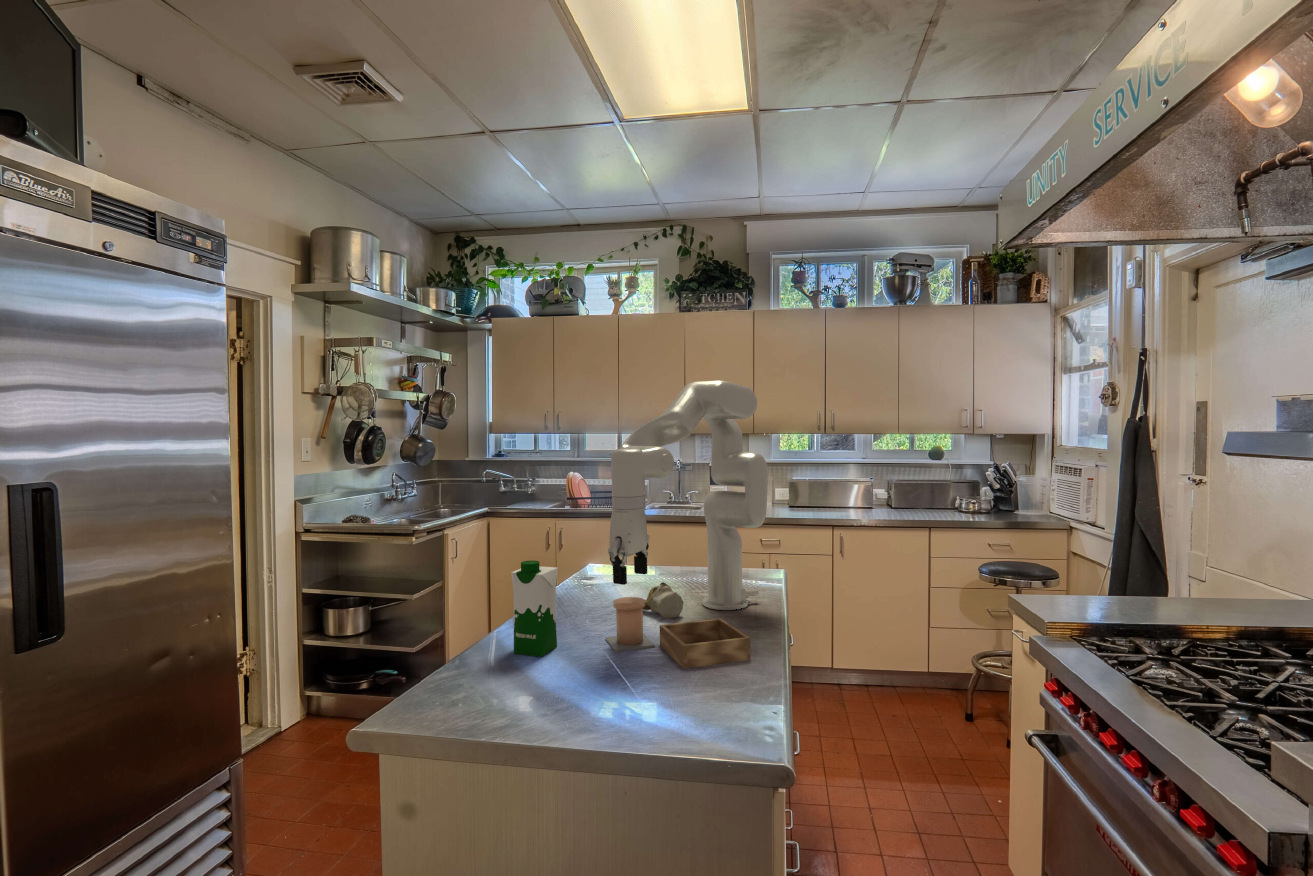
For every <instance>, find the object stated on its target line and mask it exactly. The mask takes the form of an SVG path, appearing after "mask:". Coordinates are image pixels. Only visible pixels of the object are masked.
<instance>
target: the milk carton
mask: <svg viewBox="0 0 1313 876" xmlns="http://www.w3.org/2000/svg"><path fill="white" fill-rule="evenodd" d="M558 571H559V567H555V566H554V567H553V566H541V565H540V561H539V560H524V561H521V562H520V568H518V569H517V570H516V569H515V570H514V571H511V572H510V576H511V583H512V589H513V591H512V593H513V654H514V655H515V654H516V655H521V656H522V655H523V656H531V657H539V658H540V657H541V658H542V657H543V656H545V655H547V654H549V653H550V652H551V651H553V650H554V649H556V648H557V647H558V640H557V639H558V638H557V578H558Z"/></svg>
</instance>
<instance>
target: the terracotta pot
mask: <svg viewBox="0 0 1313 876" xmlns="http://www.w3.org/2000/svg"><path fill="white" fill-rule="evenodd" d="M645 600H646V599H644V598H642V597H638V596H626V597H625V596H624V597H619V598H617V599H614V600H613V602H612V603H613V606H612V607H613V608H614V609H615V618H616V623H615V624H616V625H615V626H616V636H617V643H619V644H622V645H636V644H640V643H642V642H643V634H644V617H643V616H644V613H643V612H644V610H643V607H644V606H645Z"/></svg>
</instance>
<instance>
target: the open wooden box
mask: <svg viewBox="0 0 1313 876" xmlns="http://www.w3.org/2000/svg"><path fill="white" fill-rule="evenodd" d="M659 646H660V647H661V648H662V649H663V650H664V651H665V652H666V653H667V654H668V655H669V656H670V657H671V658H672V659H673V660H674V661H676V662H677V663H678V665H679V666H681V668H682V669H691V668H698V667H705V666H714V665H718V664H719V665H720V664H727V663H728V664H729V663H736V662H744V661H751V658H752V657H751V656H752V655H751V637H750V636H748V635H747V634H745V633H743V632H742V631H741V630H739V629H737V628H736V627H734V626H733V625H731V624H730V623H728V622H727V621H725V620H724V619H722V618H714V619H704V620H694V621H686V622H678V623H677V622H676V623H668V624H667V623H666V624H660V625H659Z"/></svg>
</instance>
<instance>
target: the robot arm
mask: <svg viewBox="0 0 1313 876" xmlns="http://www.w3.org/2000/svg"><path fill="white" fill-rule="evenodd" d="M757 408H758V399H757V395H756V393H755V392H754V391H753V389H752V388H750V387H748V386H745V385H742V384H738V383H735V382H731V381H726V380H705V381H704V380H703V381H693V382H690V383H688V384H686V385H685V386H684V387H683V389H681V391H680V392H679V394H678V395H677V396H676V397H675V398H674V400H673V401H672V402H671V404H670V405H669V406H668V407H667V409H666V410H665V411H664V413H662V414H661V415H659V416H656V417H655V418H654V419H651V420H650V421H648V422H646V423H645V424H643V425H642V426H639V427H638V428H636V430H634V431H633V432H632V433H630V434H629V436H628V437H627V438H626V439H625V441H623V443H622V445H621V446H620V447H619V448H617V449H615V450H613V451H612V453H611V454H610V465H611V467H610V469H611V470H610V472H611V500H612V501H611V504H612V507H611V508H612V511H611V516H610V521H609V522H610V523H609V545H608V546H609V547H608V550H607V553H608V555H609V560H610V563H611V564H610V565H611V567H612V582H613V584H614V585H623V586H625V585H627V583H628V576H627V575H628V573H627V572H628V571H627V569H628V568H627V566H626V562H627V560H628V557H630V556H633V568H634V570H633V571H634V574H636V575H647V574H648V555H649V552H648V550H649V547H650V545H649V542H650V534H648V529H647V528H648V526H647V518H646V510H647V509H646V479H653V480H654V479H663V478H664V477H667V476H668V475H669V474H671V472H672V471H673V469H674V466H675V459H674V456H673V454H672V453H671V451H670V450H668V449H667V448H666V446H668V445H671V444H675V443H678V442H680V441H683V440H685V439H687V438H689V436H691V434H692V433H693V432H694V430H695V429H696V427H697V426H698V424H699V423H700V421H702V419H704V421H705V422H706V424H707V426H708V427H709V430H710V433H711V458H710V459H711V460H710V461H711V462H710V475H711V479H712V482H713V483H715V484H716V485H719V486H724V487H725V486H726V487H737V488H738V487H739V488H740V487H741V488H742V487H743V488H744V491H736V490H716V491H712V492H710V493H709V494H708V495H707V496H706V497H705V499H704V502H703V515H704V518H705V524H706V525H705V526H706V533H707V535H706V536H707V596H706V597H704V598H702V600H701V601H702V605H703V606H704V607H706V608H708V609H712V610H717V611H718V610H719V611H735V610H736V609H737V610H742V609H746V608H747V607H748V605H749V600H748V598H749V597H758V596H759V590H758V589H757V588H754V589H751V588H745V587H743V541H742V538H741V534H740V532H739V531H738V530H737V527H739V528H747V529H751V528H752V529H755V528H759V527H761V526H762V525H763V524H764V522H765V519H766V516H767V509H768V489H769V487H768V483H769V470H768V468H769V467H768V463H767V461H766V459H765V457H764V456H763V455H762V454H760V453H758V452H752V451H750V452H749V451H743V450H744V449H743V431H742V429H741V427H740V426H739V423H737V421H736V420H742V419H743V420H745V419H750V418H751V417H752V416H753V415H754V414H755V413H756V411H757ZM664 446H665V447H664ZM741 608H742V609H741Z"/></svg>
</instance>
